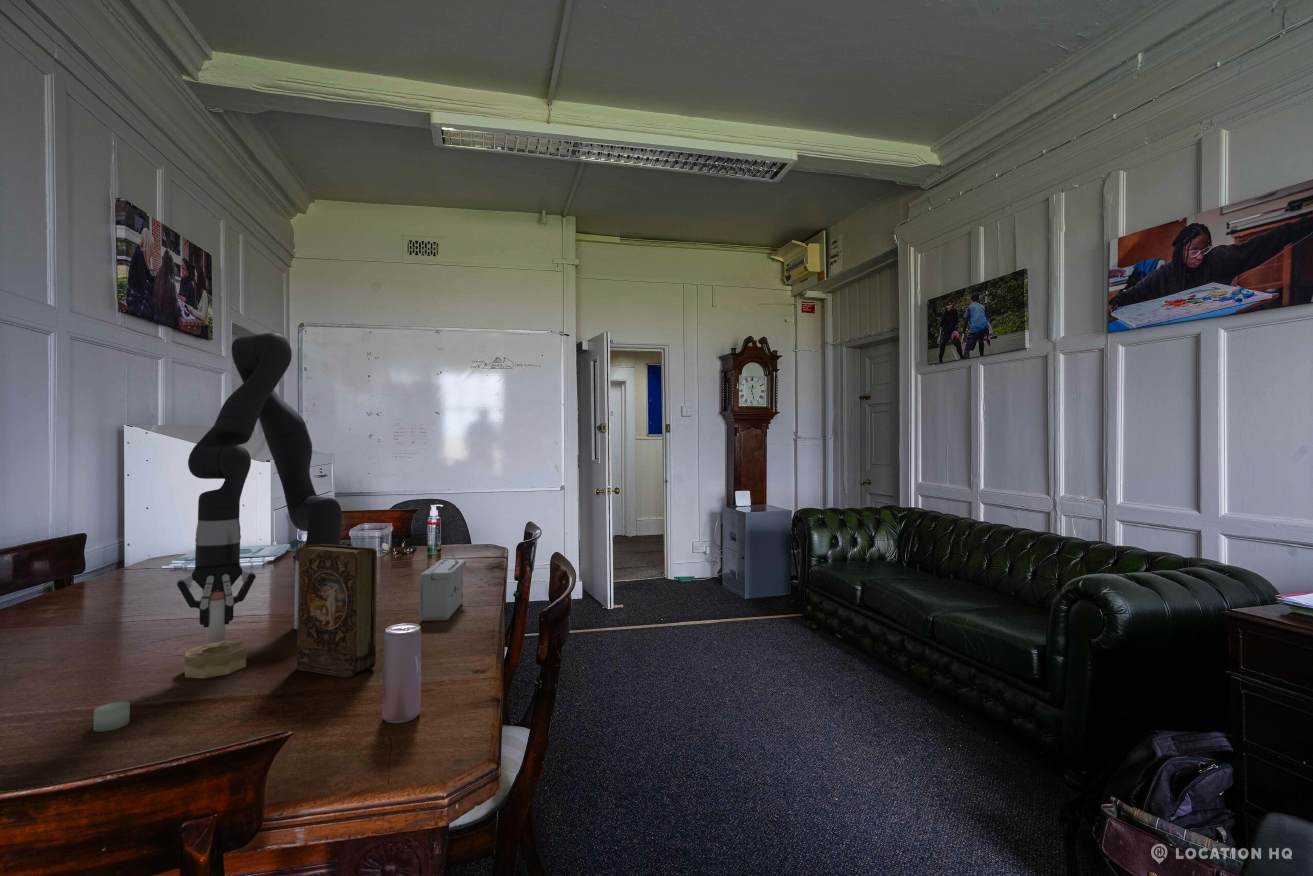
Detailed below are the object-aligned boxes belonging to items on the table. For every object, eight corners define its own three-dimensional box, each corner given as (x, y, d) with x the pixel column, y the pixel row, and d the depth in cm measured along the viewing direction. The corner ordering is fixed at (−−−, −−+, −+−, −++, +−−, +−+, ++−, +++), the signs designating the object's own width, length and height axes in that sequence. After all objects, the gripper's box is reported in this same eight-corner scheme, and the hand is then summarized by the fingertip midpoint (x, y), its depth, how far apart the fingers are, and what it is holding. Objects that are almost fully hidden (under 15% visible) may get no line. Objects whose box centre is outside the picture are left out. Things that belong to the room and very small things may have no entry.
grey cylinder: (224, 636, 127) (225, 589, 128) (225, 640, 125) (226, 591, 125) (206, 639, 126) (207, 590, 126) (207, 643, 123) (208, 593, 124)
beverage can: (389, 709, 106) (390, 623, 106) (424, 709, 107) (425, 623, 107) (376, 725, 100) (378, 633, 101) (413, 724, 101) (415, 633, 101)
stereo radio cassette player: (437, 603, 180) (438, 536, 181) (466, 602, 181) (467, 535, 182) (417, 623, 160) (419, 547, 160) (450, 622, 161) (451, 546, 161)
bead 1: (130, 717, 103) (130, 699, 103) (128, 727, 99) (129, 708, 99) (94, 724, 100) (95, 706, 100) (92, 734, 96) (92, 715, 96)
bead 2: (242, 657, 132) (242, 638, 132) (247, 670, 125) (247, 650, 125) (184, 667, 126) (184, 648, 126) (185, 681, 118) (186, 661, 118)
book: (292, 668, 126) (294, 547, 126) (315, 660, 131) (317, 543, 132) (354, 678, 120) (356, 552, 121) (375, 669, 126) (377, 548, 126)
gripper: (256, 536, 133) (254, 615, 133) (174, 542, 124) (172, 626, 124) (260, 540, 127) (258, 623, 127) (175, 546, 119) (173, 635, 118)
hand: (216, 624), depth 125 cm, fingers closed on grey cylinder, 3 cm apart
